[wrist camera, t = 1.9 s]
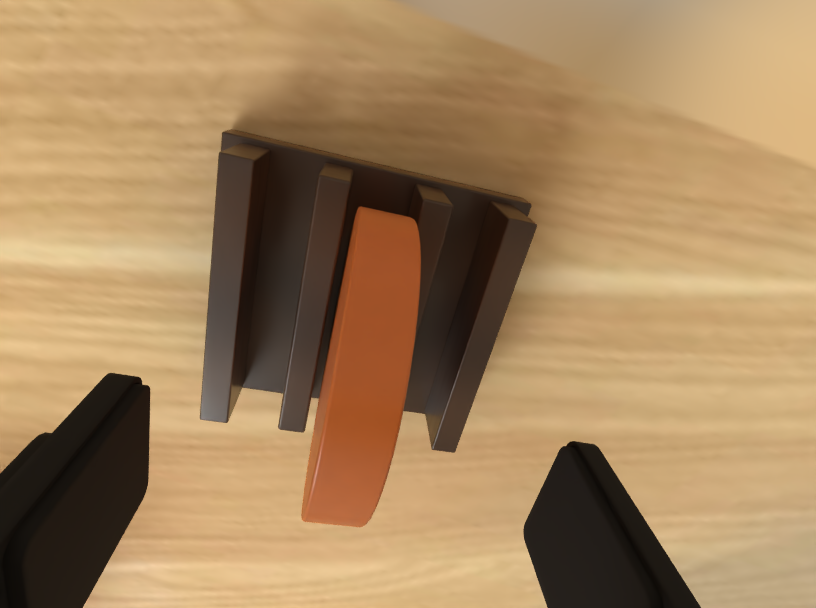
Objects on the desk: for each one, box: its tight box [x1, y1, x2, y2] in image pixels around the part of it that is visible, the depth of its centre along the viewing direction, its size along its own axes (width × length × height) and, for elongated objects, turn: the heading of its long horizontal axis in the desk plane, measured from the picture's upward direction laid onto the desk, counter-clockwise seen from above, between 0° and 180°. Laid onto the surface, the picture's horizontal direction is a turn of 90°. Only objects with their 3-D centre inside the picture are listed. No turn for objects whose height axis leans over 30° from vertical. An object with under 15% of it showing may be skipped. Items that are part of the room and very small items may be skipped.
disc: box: [302, 206, 421, 527], centre depth 14 cm, size 9×2×9 cm, turn 166°
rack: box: [200, 129, 537, 453], centre depth 17 cm, size 10×11×4 cm
